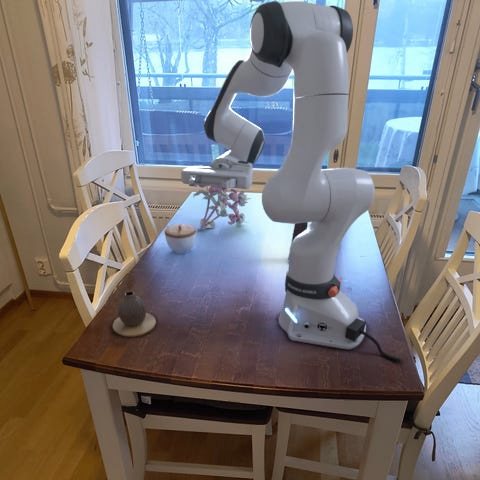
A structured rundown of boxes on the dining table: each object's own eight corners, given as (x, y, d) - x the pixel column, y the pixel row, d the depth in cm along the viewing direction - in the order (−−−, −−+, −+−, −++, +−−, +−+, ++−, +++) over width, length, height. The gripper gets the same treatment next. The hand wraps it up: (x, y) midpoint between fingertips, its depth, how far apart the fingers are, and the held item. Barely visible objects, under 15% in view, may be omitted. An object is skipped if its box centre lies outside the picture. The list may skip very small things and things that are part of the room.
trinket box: (163, 246, 153) (161, 221, 148) (192, 242, 156) (190, 217, 151) (170, 258, 145) (167, 232, 140) (200, 253, 148) (199, 228, 143)
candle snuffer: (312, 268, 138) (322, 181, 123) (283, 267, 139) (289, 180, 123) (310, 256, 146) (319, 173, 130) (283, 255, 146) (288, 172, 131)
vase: (141, 331, 107) (136, 301, 102) (115, 328, 108) (110, 298, 104) (151, 317, 113) (147, 288, 108) (127, 314, 114) (122, 285, 109)
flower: (228, 240, 154) (247, 171, 149) (175, 224, 161) (191, 158, 156) (246, 244, 173) (263, 183, 168) (198, 230, 179) (214, 170, 175)
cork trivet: (164, 319, 113) (164, 318, 112) (138, 341, 104) (137, 339, 104) (131, 309, 117) (131, 308, 117) (103, 329, 109) (103, 328, 108)
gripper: (190, 158, 125) (170, 169, 114) (257, 163, 120) (243, 175, 109) (192, 180, 128) (172, 193, 117) (257, 185, 123) (243, 200, 112)
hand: (207, 184), depth 113 cm, fingers open, 8 cm apart
